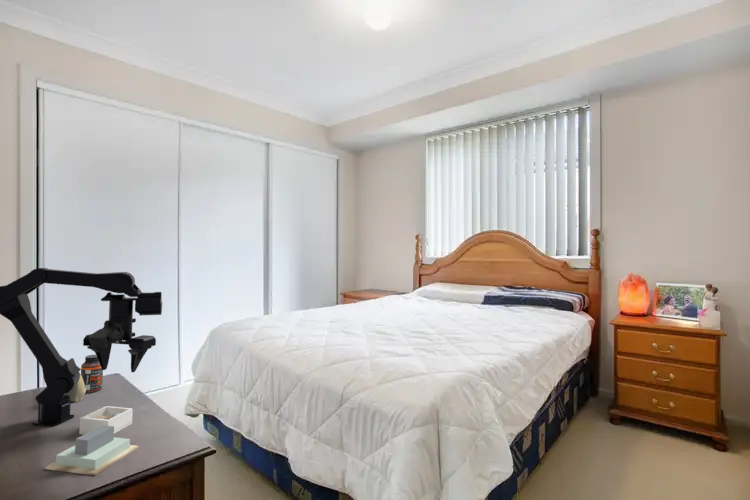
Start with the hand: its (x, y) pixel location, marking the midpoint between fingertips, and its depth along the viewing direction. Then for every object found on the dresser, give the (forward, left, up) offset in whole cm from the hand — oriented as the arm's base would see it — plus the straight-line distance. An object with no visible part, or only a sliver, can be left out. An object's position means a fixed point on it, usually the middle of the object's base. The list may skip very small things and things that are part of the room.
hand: (118, 370), depth 111 cm
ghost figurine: (-20, +6, -12) cm, 24 cm away
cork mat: (+14, -22, -12) cm, 29 cm away
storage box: (+5, -9, -12) cm, 16 cm away
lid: (+14, -22, -12) cm, 28 cm away
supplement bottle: (-22, +14, -12) cm, 29 cm away
